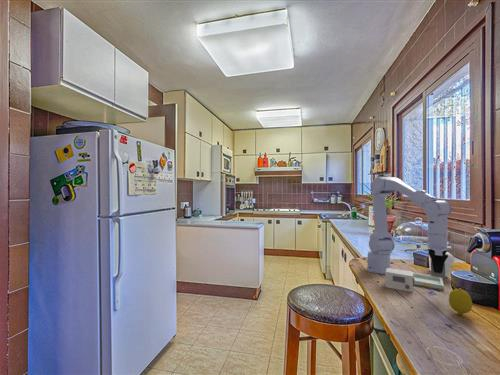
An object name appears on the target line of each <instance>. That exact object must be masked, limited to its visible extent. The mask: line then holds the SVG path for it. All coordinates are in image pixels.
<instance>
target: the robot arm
mask: <svg viewBox="0 0 500 375" xmlns="http://www.w3.org/2000/svg"><path fill="white" fill-rule="evenodd" d="M371 187H372V189H371V190H372V194H371V196H372V200H371V201H372V214H373V224H374V226H373V228H374V230H373V232H372V233H371V234H370V235H369V240H368V248H369V249H370V250H368V252H367V272H368V273H373V274H380V275H385V276H386V269H387V268H391V254H392V252H393V251H394V250H395V242H394V239H393V235H392V234H391V233H390V232H388V231H389V230H388V219H387V204H386V203H387V201H386V198H387V197H388V196H389V195H390V194H392V193H394V192H396V191H397V192H398V193H401V194H403V195H404V196H406V197H408V198H409V200H410V202H411V203H412V204H414V205H415V206H417V207H419V208H420V209H422V210H423V212H424V214H425V215H426V221H427V244H426V247H427V254H428V257H429V256H430V258H431V260H432V265H433V270H434V272H435V273H442V270H443V266H444V263H445V261H446V259H447V258H448V255H446V252H448V251H447V250H452V246H450V245H449V246H448V216H449V215H450V214H452V209H453V208H452V205H451V204H450V203H449V201H447V200H444V199H441V200H439V199H438V197H436V196H432V195H431V194H429V193H427V191H426V190H424V189H417V190H415V189H414V188H412V187H411V186H409V185H408V184H407V183H405V182H403V181H402V179H400V178H398V177H395V176H392V177H391V176H390V177H388V176H385V177H384V176H377V177H375V178H374V179H373V181H372V182H371ZM428 251H429V252H428Z"/></svg>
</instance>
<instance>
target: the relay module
mask: <svg viewBox="0 0 500 375" xmlns="http://www.w3.org/2000/svg"><path fill="white" fill-rule="evenodd" d="M430 275H431V276H434V277H440V278H442V279H446V277H445V263H444V266H443V270H442V273H435V272H434V270H433V265H432V260H431V270H430Z"/></svg>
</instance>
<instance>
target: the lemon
mask: <svg viewBox="0 0 500 375" xmlns="http://www.w3.org/2000/svg"><path fill="white" fill-rule="evenodd" d="M448 296H449V297H448V303H449V305H450V307H451V309H452V310H454V311H455V312H457V313H458V314H459V315H463V314H467V313H470V312H471V310H472V309H473V308H472V307H473V300H472V297H471V295H470V294H469V293H468V292H467V291H466V290H464V289H462V288H461V287H460V288H456V289H453V290H451V291H450V293H449V295H448Z"/></svg>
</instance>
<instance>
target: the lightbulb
mask: <svg viewBox="0 0 500 375" xmlns="http://www.w3.org/2000/svg"><path fill="white" fill-rule="evenodd" d="M446 255H448V258H447V259H446V261H445V278H447V277H449V276H450V271H451V267H452V265H453V264H454V263H455V257H454V255H452V253H450V252H448V251H447V252H446Z"/></svg>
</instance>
